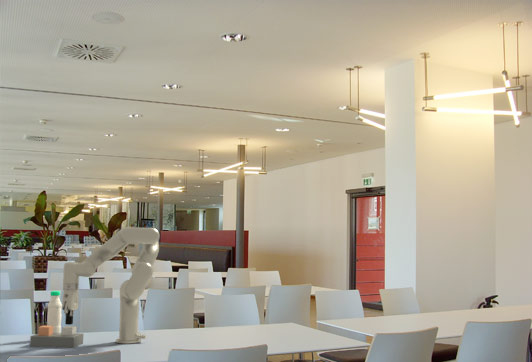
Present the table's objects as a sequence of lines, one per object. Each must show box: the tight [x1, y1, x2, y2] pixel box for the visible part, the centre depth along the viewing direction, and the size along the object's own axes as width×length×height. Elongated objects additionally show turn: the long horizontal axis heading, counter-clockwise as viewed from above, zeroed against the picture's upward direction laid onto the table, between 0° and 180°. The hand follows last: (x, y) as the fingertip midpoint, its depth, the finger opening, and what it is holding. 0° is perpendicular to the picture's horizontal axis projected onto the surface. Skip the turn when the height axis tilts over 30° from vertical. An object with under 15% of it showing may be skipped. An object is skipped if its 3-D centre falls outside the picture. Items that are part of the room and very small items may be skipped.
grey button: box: [61, 325, 77, 336], centre depth 304 cm, size 5×5×5 cm
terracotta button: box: [37, 325, 53, 336], centre depth 305 cm, size 5×5×5 cm
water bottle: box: [46, 290, 62, 333], centre depth 321 cm, size 7×7×25 cm
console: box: [29, 332, 84, 349], centre depth 304 cm, size 22×12×5 cm, turn 85°
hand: (69, 324), depth 304 cm, fingers closed
